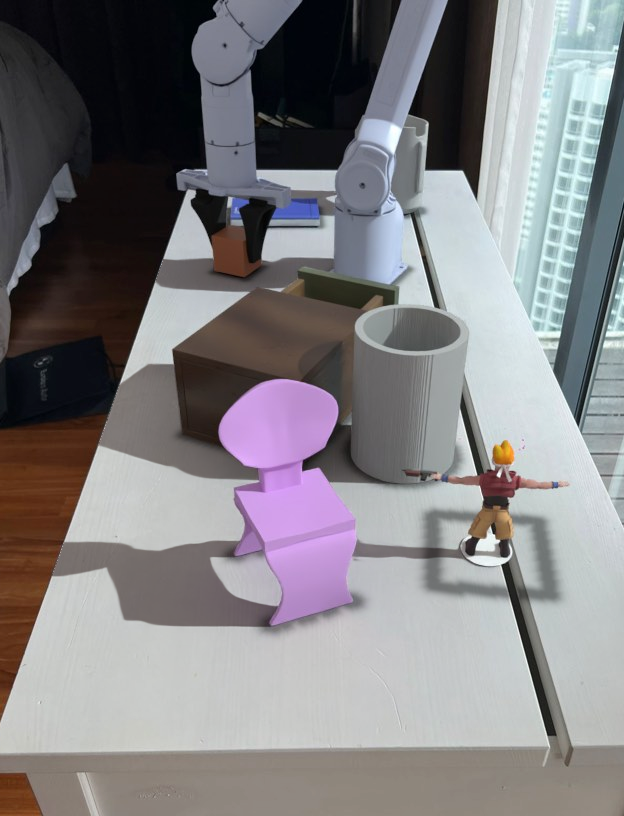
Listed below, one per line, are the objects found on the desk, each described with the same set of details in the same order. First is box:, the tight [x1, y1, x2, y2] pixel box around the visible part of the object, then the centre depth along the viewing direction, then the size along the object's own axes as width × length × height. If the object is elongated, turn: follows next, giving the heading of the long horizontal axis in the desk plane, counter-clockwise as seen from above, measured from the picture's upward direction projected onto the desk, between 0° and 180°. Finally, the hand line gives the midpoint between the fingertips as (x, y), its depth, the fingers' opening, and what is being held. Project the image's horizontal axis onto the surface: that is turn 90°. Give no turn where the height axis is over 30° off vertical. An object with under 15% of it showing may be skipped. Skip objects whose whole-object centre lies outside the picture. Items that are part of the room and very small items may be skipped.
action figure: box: [402, 439, 571, 567], centre depth 62 cm, size 12×3×9 cm, turn 86°
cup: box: [350, 303, 470, 485], centre depth 71 cm, size 9×9×12 cm
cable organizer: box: [354, 113, 429, 215], centre depth 121 cm, size 7×12×12 cm, turn 38°
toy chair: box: [218, 379, 358, 627], centre depth 57 cm, size 8×9×15 cm
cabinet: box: [171, 286, 368, 468], centre depth 77 cm, size 15×12×9 cm
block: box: [211, 224, 263, 278], centre depth 104 cm, size 4×4×4 cm
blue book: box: [229, 197, 321, 227], centre depth 120 cm, size 2×8×12 cm
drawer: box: [280, 266, 400, 311], centre depth 85 cm, size 18×11×7 cm, turn 155°
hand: (237, 256), depth 105 cm, fingers closed on block, 4 cm apart
